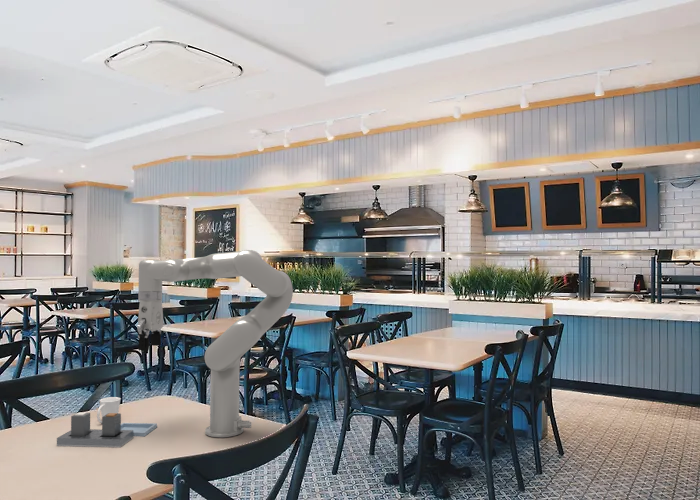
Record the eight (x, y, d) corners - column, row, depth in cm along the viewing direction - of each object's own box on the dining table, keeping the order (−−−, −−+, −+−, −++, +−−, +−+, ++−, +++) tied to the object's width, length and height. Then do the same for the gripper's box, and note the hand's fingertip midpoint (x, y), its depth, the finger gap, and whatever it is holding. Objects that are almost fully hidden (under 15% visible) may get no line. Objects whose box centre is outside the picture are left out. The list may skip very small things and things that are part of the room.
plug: (90, 438, 176) (90, 411, 176) (83, 442, 172) (83, 415, 172) (77, 437, 176) (78, 411, 176) (70, 441, 172) (71, 415, 172)
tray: (156, 428, 189) (157, 423, 189) (144, 438, 179) (144, 432, 179) (122, 428, 189) (122, 422, 189) (108, 437, 179) (108, 431, 179)
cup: (124, 419, 199) (124, 397, 199) (106, 428, 189) (107, 404, 189) (107, 418, 200) (107, 396, 200) (88, 426, 191) (89, 403, 191)
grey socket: (133, 439, 177) (133, 410, 177) (120, 449, 168) (120, 418, 168) (73, 438, 178) (73, 409, 179) (56, 447, 169) (57, 417, 170)
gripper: (150, 298, 177) (150, 352, 176) (171, 295, 194) (170, 343, 194) (127, 298, 177) (127, 351, 177) (150, 294, 194) (149, 343, 194)
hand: (149, 347), depth 185 cm, fingers open, 9 cm apart
